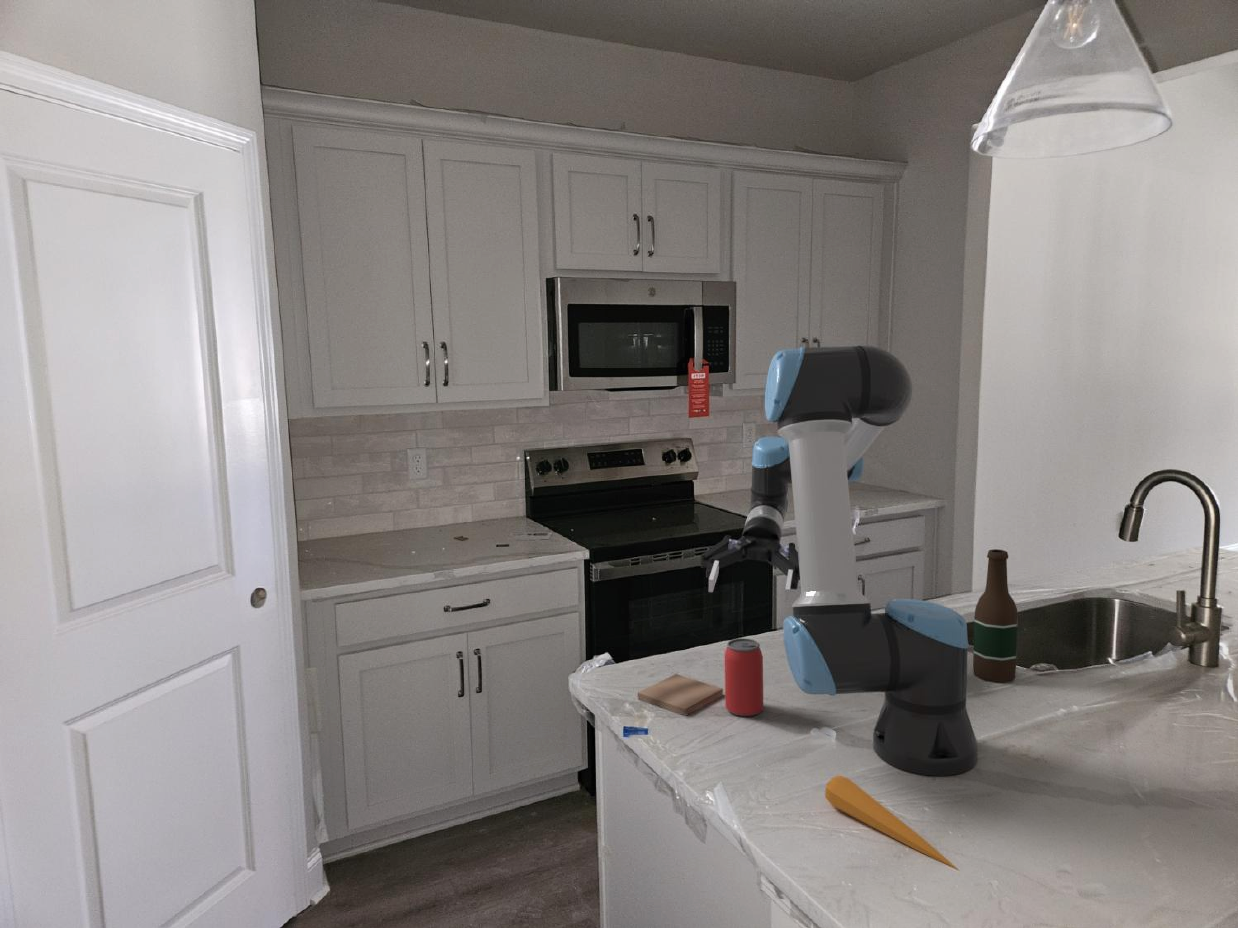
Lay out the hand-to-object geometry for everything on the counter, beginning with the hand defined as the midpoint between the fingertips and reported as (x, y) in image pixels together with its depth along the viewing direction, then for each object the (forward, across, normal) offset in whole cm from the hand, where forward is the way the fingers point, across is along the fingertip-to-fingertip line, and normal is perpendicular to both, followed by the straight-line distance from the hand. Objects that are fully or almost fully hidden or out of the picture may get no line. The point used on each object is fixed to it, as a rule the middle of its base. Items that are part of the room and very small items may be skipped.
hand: (748, 590), depth 147 cm
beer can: (+11, -2, -17) cm, 21 cm away
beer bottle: (-12, -45, -20) cm, 51 cm away
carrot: (+42, -24, -6) cm, 49 cm away
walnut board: (+9, +10, -19) cm, 23 cm away
